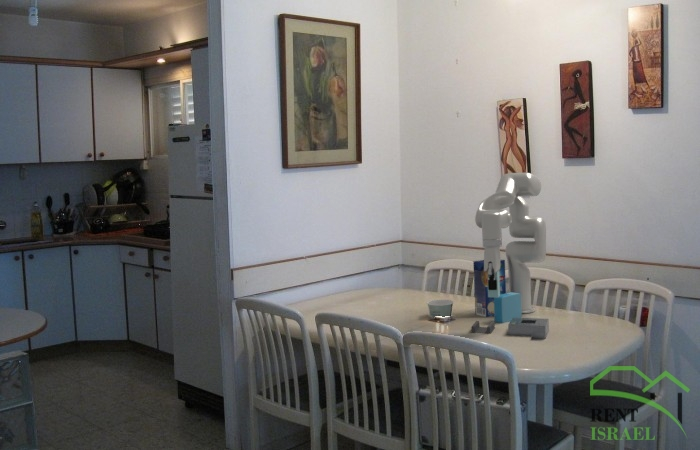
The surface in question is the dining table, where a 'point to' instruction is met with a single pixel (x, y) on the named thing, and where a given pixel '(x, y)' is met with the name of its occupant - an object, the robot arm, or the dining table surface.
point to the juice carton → (486, 288)
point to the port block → (529, 327)
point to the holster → (483, 328)
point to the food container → (440, 308)
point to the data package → (507, 307)
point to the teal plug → (497, 292)
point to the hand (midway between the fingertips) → (493, 288)
